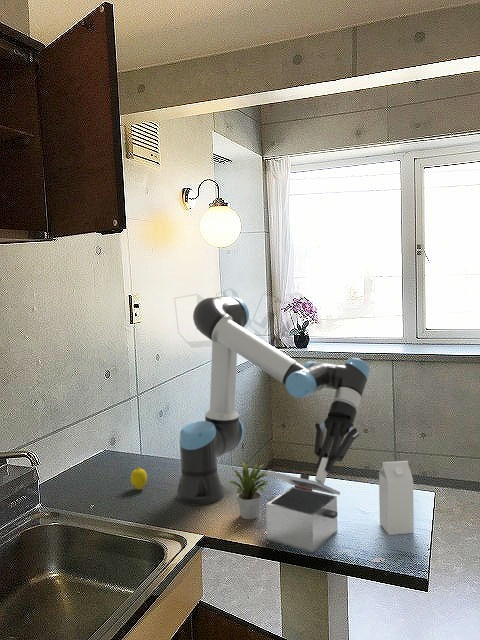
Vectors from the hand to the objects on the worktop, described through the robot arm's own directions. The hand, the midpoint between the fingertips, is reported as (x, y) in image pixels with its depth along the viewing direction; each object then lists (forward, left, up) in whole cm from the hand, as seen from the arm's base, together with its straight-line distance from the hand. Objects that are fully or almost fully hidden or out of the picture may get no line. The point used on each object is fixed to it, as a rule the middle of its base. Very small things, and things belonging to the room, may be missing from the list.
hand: (319, 481), depth 149 cm
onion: (-16, +19, -16) cm, 30 cm away
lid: (-5, 0, -2) cm, 5 cm away
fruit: (-69, 0, -16) cm, 71 cm away
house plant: (-24, +1, -16) cm, 29 cm away
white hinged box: (-5, -1, -16) cm, 17 cm away
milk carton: (+15, +16, -16) cm, 27 cm away
